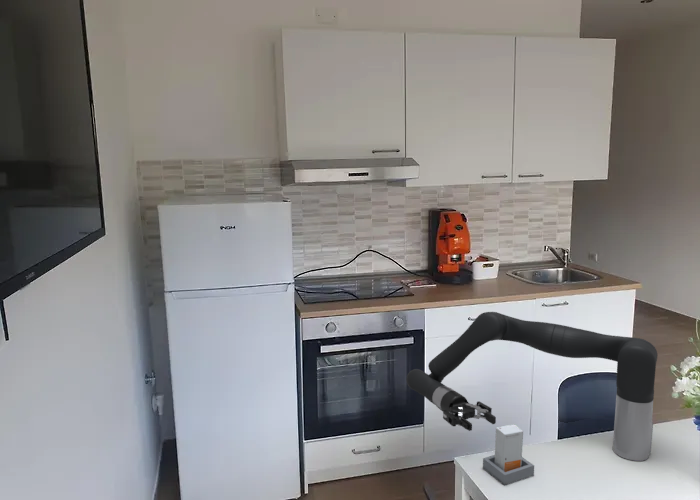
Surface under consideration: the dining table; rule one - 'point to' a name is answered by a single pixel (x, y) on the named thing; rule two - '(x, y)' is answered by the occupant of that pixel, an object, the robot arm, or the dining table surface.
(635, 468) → the dining table surface
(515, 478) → the gray tray
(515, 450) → the skincare box
